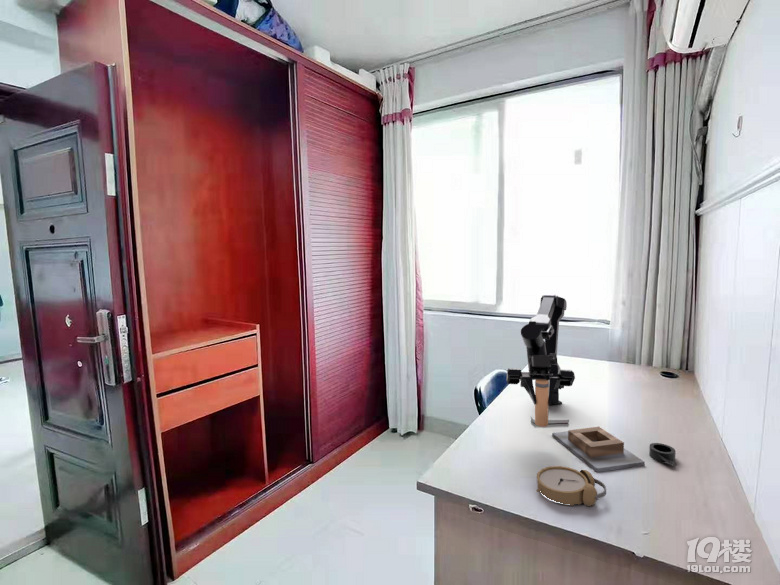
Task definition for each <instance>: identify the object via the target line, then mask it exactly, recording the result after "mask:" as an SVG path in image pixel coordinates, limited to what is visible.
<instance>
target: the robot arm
mask: <svg viewBox="0 0 780 585" xmlns="http://www.w3.org/2000/svg"><path fill="white" fill-rule="evenodd" d="M539 304H540V305H539V308H538V311H537V313H536V315H535V316H533V317H531V318H530V319H529V322H528V323H527V324H525V325H523V326H522V328H521V329H520V336H521V338H522V341H523V344H524V346H525V347H526V356H527V357H526V358H527V364H528V366H527V368H528V371H522V369H521V368H517V367H515V368H514V367H510V368H508V369H507V371H506V384H508V385H518V384H519V383H520V387H521V388H523V389H525V391H526V392H527V394H528V396H529V397H530V399H531V400H532V402H533V404H534V405H535V404H536V397H535V388H534V382H533V380H534V381H535V380H537V379H545V380H548V381H549V397H548V406H555V405H562V404H563V401H561V400H560V398H559V395H560V393H559V390H561V389H564V388H565V387H572V386H573V384H574V381H575V379H576V376H575V372H574V371H573V370H572V369H561V367H560V365H559V363H558V342H559V341H558V340H559V328H560V325H559V324H560V321H561V320H562V319H563V318H564V316H565V311H566V310H567V308H568V307H567V305H568V304H567V300H566V298H563V297H561V296H558V295H556V294H552V293H551V294H547V293H546V294H542V295H541V297H540V302H539Z"/></svg>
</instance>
